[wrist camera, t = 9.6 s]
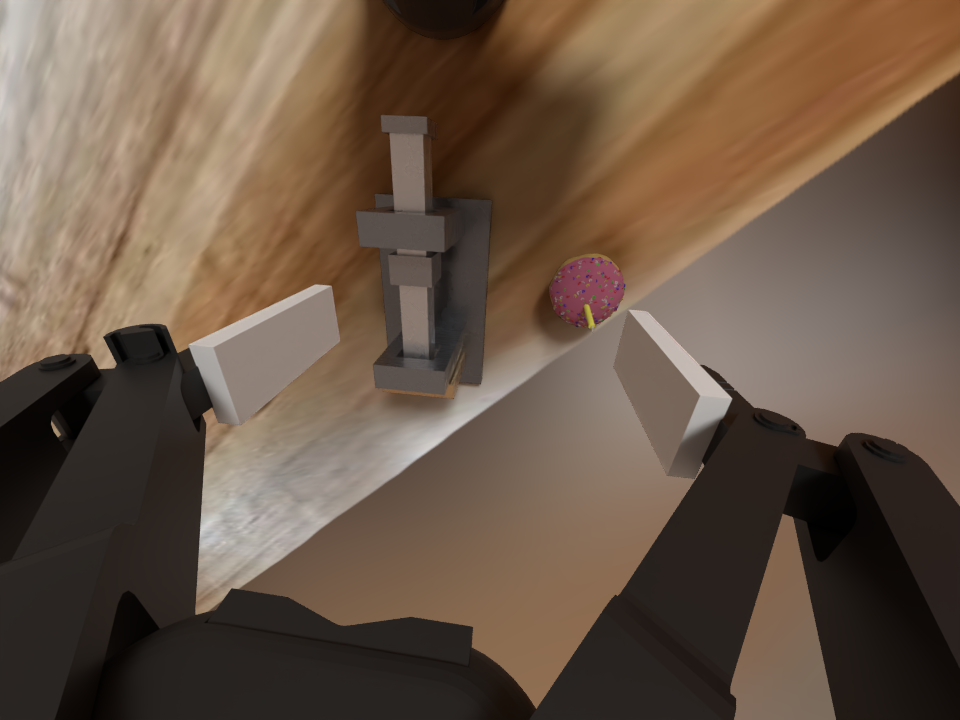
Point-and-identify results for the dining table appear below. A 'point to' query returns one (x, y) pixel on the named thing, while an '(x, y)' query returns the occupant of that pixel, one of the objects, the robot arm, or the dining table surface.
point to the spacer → (451, 387)
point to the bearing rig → (456, 295)
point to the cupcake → (586, 290)
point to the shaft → (415, 195)
